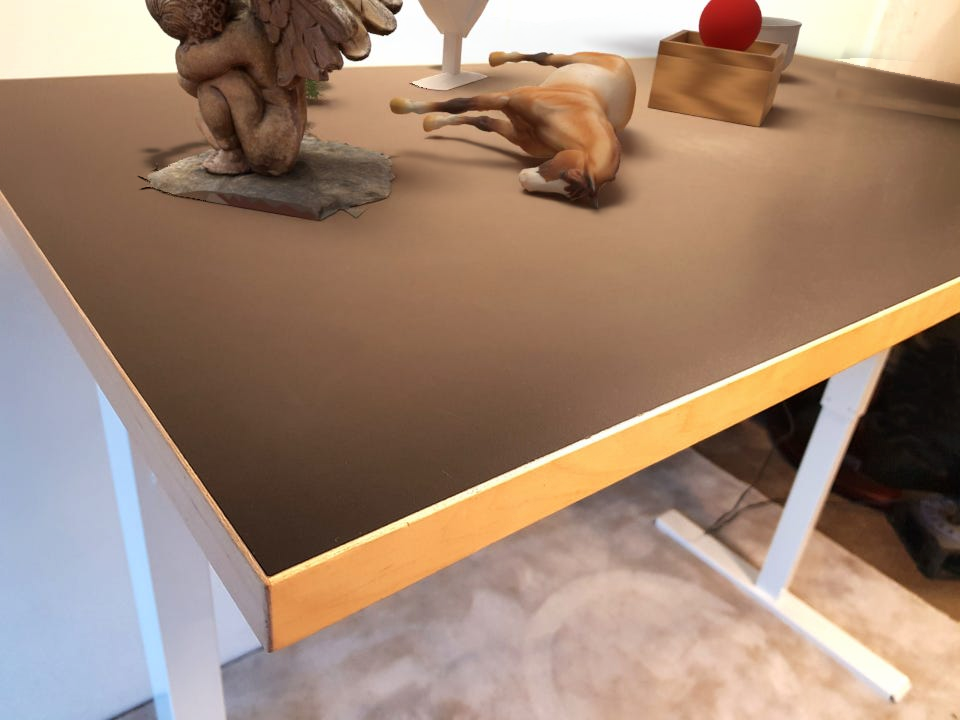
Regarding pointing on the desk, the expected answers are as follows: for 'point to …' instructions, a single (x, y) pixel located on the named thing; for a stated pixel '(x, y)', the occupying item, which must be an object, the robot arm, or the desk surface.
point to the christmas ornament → (730, 24)
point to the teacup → (781, 34)
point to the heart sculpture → (452, 39)
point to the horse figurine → (553, 119)
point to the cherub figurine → (271, 102)
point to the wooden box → (716, 79)
